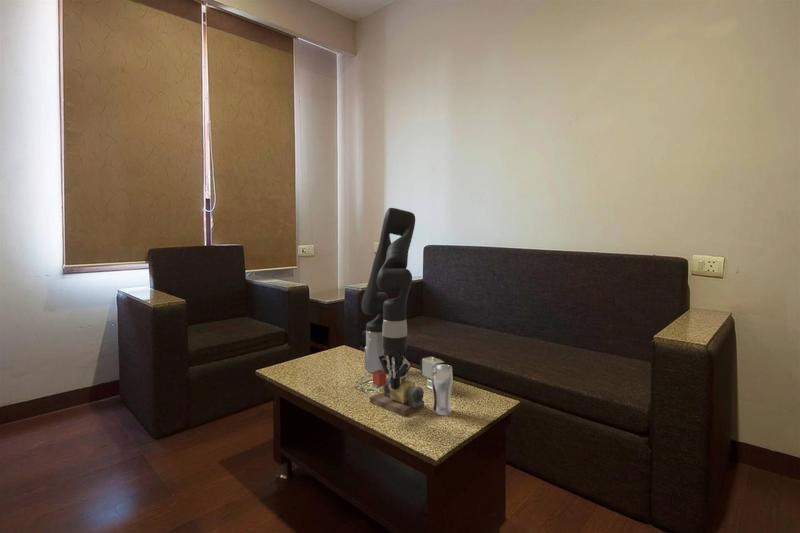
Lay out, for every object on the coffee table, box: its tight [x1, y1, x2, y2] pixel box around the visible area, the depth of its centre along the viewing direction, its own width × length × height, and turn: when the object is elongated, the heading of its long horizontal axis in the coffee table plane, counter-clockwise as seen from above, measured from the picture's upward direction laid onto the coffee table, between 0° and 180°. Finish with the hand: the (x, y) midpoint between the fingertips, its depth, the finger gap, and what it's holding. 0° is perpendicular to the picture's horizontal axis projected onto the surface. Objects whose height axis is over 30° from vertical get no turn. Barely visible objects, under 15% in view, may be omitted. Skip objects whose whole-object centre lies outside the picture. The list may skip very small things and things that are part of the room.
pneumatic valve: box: [419, 356, 447, 390], centre depth 160 cm, size 6×12×12 cm, turn 34°
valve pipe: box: [369, 376, 425, 417], centre depth 145 cm, size 17×10×10 cm, turn 47°
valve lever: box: [372, 370, 408, 389], centre depth 140 cm, size 14×3×5 cm, turn 137°
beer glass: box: [430, 363, 454, 416], centre depth 140 cm, size 7×7×15 cm
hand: (395, 388), depth 132 cm, fingers closed
